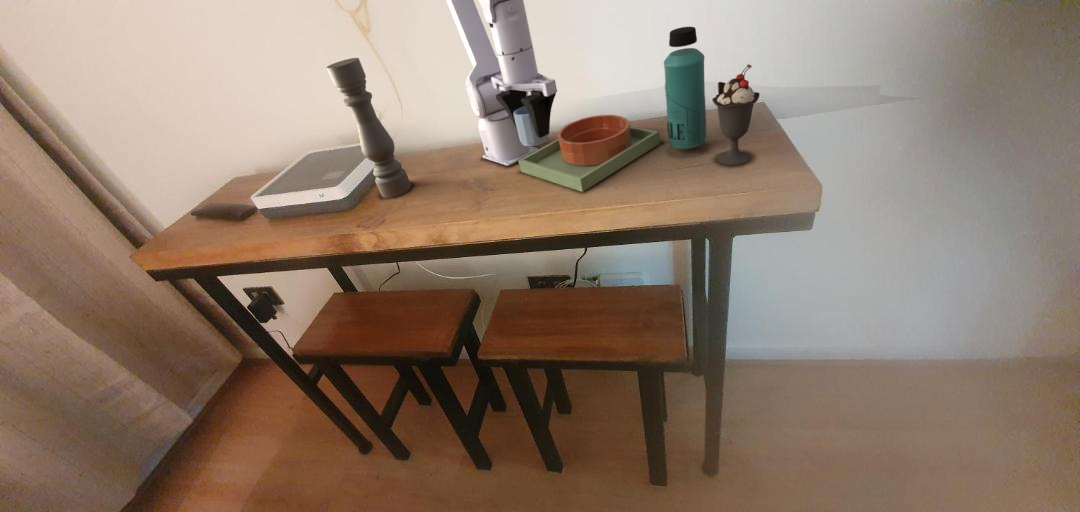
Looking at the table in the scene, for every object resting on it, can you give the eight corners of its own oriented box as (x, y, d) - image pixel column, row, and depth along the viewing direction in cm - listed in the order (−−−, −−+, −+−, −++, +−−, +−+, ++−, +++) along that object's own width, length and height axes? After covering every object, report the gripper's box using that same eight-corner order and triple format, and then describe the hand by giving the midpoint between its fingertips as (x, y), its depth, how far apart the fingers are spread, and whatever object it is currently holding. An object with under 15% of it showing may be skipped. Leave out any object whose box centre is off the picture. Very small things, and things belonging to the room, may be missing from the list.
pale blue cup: (515, 144, 83) (507, 113, 80) (537, 132, 86) (530, 102, 82) (532, 149, 80) (525, 117, 77) (555, 137, 82) (549, 105, 79)
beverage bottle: (711, 142, 85) (711, 20, 74) (700, 158, 81) (697, 32, 70) (675, 140, 88) (669, 24, 77) (662, 156, 84) (654, 36, 73)
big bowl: (548, 161, 93) (543, 137, 90) (595, 135, 99) (592, 111, 96) (598, 175, 84) (593, 148, 81) (646, 145, 89) (644, 119, 87)
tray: (521, 171, 92) (518, 160, 90) (594, 130, 101) (593, 119, 99) (582, 192, 80) (580, 179, 78) (659, 143, 89) (659, 131, 88)
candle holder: (384, 201, 94) (326, 70, 80) (378, 190, 99) (323, 66, 85) (414, 189, 95) (363, 59, 81) (407, 179, 100) (357, 55, 86)
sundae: (760, 165, 75) (765, 67, 66) (714, 169, 77) (714, 74, 68) (753, 148, 80) (757, 54, 72) (710, 152, 82) (710, 61, 73)
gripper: (468, 56, 78) (490, 135, 85) (523, 59, 67) (542, 149, 75) (502, 42, 81) (521, 120, 88) (559, 44, 71) (575, 132, 78)
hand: (533, 132), depth 82 cm, fingers closed on pale blue cup, 5 cm apart
